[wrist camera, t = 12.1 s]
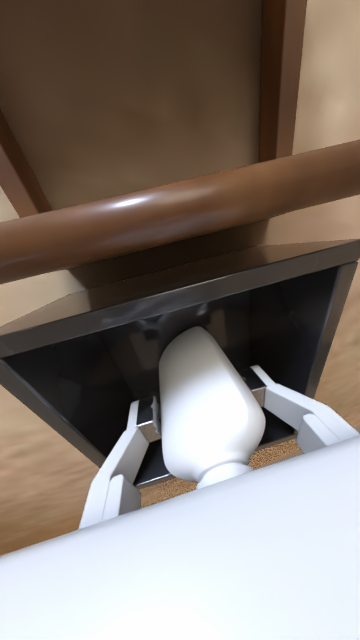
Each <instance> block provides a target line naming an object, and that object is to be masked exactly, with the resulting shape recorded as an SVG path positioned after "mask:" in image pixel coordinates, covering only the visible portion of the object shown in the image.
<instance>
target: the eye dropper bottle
mask: <svg viewBox="0 0 360 640" xmlns="http://www.w3.org/2000/svg"><path fill="white" fill-rule="evenodd" d="M159 386H160V412H161V434H162V451H163V458H164V463H165V466H166V468H167V469H168V471H169V472H170V473H171V474H172V475H174V476H175V477H177V478H179V479H183V480H187V481H193V482H198V485H197V487H196V490H197V489H200V488H203V487H206V486H209V485H212V484H215V483H218V482H221V481H224V480H227V479H230V478H233V477H236V476H239V475H242V474H245V473H248V472H250V471H253V470H254V469H253V468H252V467H250V466H248V464H249V459H250V458H251V456H252V455H253V453H254V451H255V450H256V448H257V446H258V444H259V443H260V441H261V439H262V436H263V433H264V430H265V422H266V421H265V416H264V413H263V411H262V409H261V407H260V405H259V404H258V402H257V401H256V399H255V398H254V396H253V395H252V393H251V392H250V390H249V389H248V387H247V386H246V384H245V383H244V381H243V380H242V378H241V377H240V375H239V374H238V372H237V371H236V370H235V368H234V367H233V365H232V364H231V362H230V361H229V359H228V358H227V357H226V355H225V354H224V352H223V351H222V349H221V348H220V346H219V345H218V344H217V342H216V341H215V339H214V338H213V337H212V335H211V334H209V333H208V332H207V331H206V330H205V329H203V328H202V327H199V326H196V327H192V328H190V329H188V330H186V331H184V332H183V333H181V334H180V335H178V336H177V337H176V338H175V339H174V340H173V341H172V342H171V343H170V344H169V345H168V346H167V347H166V349H165V350H164V352H163V354H162V356H161V358H160V361H159Z"/></svg>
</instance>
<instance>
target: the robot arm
mask: <svg viewBox="0 0 360 640" xmlns="http://www.w3.org/2000/svg"><path fill="white" fill-rule="evenodd" d="M237 372H238V374H239V375H240V377H241V378H242V380H243V381H244V383H245V384H246V386H247V387H248V389H249V390H250V392H251V393H252V395H253V396H254V398H255V399H256V401H257V402H258V404H259V405H260V407H264V408H266V409H267V410H269V411H270V412H272V413H273V414H275V415H276V416H277V417H279V418H280V419H282V420H283V421H285V422H286V423H288V424H289V425H290V426H292V427H293V428H295V429H296V430H298V434H297V437H296V443H297V444H298V446H299V447H300V448H301V450H302V451H303V452H304V454H301V455H298V456H295V457H292V458H289V459H286V460H283V461H280V462H277V463H274V464H271V465H268V466H265V467H262V468H259V469H256V470H253V471H250V472H248V473H245V474H242V475H239V476H236V477H233V478H230V479H227V480H224V481H221V482H218V483H215V484H212V485H209V486H206V487H203V488H200V489H197V490H194V491H191V492H188V493H185V494H182V495H179V496H176V497H173V498H170V499H167V500H164V501H161V502H158V503H155V504H152V505H149V506H146V507H143V508H140V506H141V493H140V491H139V490H138V489H137V488H136V487H135V486H134V485H133V482H134V480H135V477H136V475H137V472H138V470H139V467H140V465H141V462H142V460H143V457H144V455H145V453H146V450H147V448H148V445H149V443H150V442H152V441H155V440H158V439H161V438H162V434H161V423H160V421H161V412H160V405H159V403H157V399H156V397H155V396H153V397H149V398H145V399H142V400H138V401H135V402H132V403H131V406H130V412H129V418H128V424H127V430H126V431H124V432H123V434H122V435H121V437H120V439H119V440H118V442H117V443H116V445H115V446H114V448H113V450H112V451H111V453H110V454H109V456H108V457H107V459H106V461H105V462H104V464H103V465H102V467H101V468H100V470H99V472H98V473H97V475H96V476H95V478H94V479H93V481H92V483H91V486H90V490H89V493H88V497H87V500H86V504H85V508H84V511H83V515H82V518H81V522H80V525H79V529H78V530H75V531H72V532H69V533H66V534H63V535H60V536H57V537H54V538H51V539H48V540H45V541H42V542H39V543H36V544H33V545H30V546H28V547H25V548H22V549H19V550H16V551H13V552H10V553H7V554H4V555H1V556H0V640H360V434H359V433H358V432H357V431H356V430H355V429H354V428H353V427H352V426H350V425H349V424H348V423H347V422H346V421H345V420H344V419H342V418H341V417H340V416H339V415H338V414H337V413H336V412H334V411H333V410H332V409H331V408H330V407H329V406H327V405H324V404H322V403H320V402H318V401H315V400H313V399H311V398H309V397H307V396H304V395H302V394H300V393H298V392H296V391H293V390H291V389H289V388H287V387H285V386H282V385H280V384H275V383H274V381H273V380H272V379H271V378H270V377H269V376H268V375H267V374H266V373H265V372H264V371H263V370H262V369H261V368H260V367H259V366H258V365H255V366H252V367H248V368H245V369H241V370H238V371H237Z"/></svg>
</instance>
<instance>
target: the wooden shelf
mask: <svg viewBox="0 0 360 640" xmlns="http://www.w3.org/2000/svg"><path fill="white" fill-rule="evenodd" d="M306 6H307V0H263V10H262V54H261V98H260V143H259V163H256V164H252V165H248V166H243V167H239V168H235V169H230V170H226V171H222V172H217V173H213V174H209V175H205V176H200V177H196V178H192V179H187V180H183V181H179V182H174V183H170V184H166V185H161V186H157V187H153V188H148V189H144V190H140V191H135V192H131V193H127V194H122V195H118V196H114V197H109V198H105V199H101V200H96V201H92V202H88V203H83V204H79V205H75V206H70V207H66V208H62V209H57V210H53V211H52V210H51V208H50V206H49V204H48V202H47V200H46V198H45V196H44V194H43V192H42V191H41V189H40V187H39V185H38V183H37V181H36V179H35V177H34V175H33V173H32V171H31V169H30V167H29V165H28V163H27V161H26V159H25V158H24V156H23V154H22V152H21V150H20V148H19V146H18V144H17V142H16V140H15V138H14V136H13V134H12V132H11V130H10V128H9V126H8V125H7V123H6V121H5V119H4V117H3V115H2V113H1V111H0V186H1V187H2V189H3V191H4V192H5V194H6V196H7V197H8V199H9V200H10V202H11V204H12V205H13V207H14V209H15V210H16V212H17V214H18V215H19V217H20V218H19V219H14V220H10V221H6V222H1V223H0V284H4V283H8V282H12V281H16V280H20V279H24V278H28V277H32V276H36V275H40V274H44V273H48V272H54V271H60V270H65V269H70V268H74V267H78V266H82V265H86V264H90V263H94V262H98V261H102V260H106V259H110V258H114V257H118V256H122V255H126V254H129V253H133V252H137V251H141V250H145V249H149V248H153V247H157V246H161V245H165V244H169V243H173V242H177V241H181V240H185V239H189V238H193V237H197V236H201V235H205V234H209V233H213V232H217V231H221V230H225V229H229V228H233V227H237V226H241V225H245V224H249V223H253V222H257V221H261V220H265V219H269V218H272V217H276V216H279V215H282V214H285V213H289V212H292V211H295V210H299V209H303V208H307V207H311V206H315V205H319V204H323V203H327V202H331V201H335V200H339V199H343V198H347V197H351V196H355V195H359V194H360V140H356V141H352V142H347V143H343V144H339V145H334V146H330V147H326V148H321V149H317V150H313V151H308V152H304V153H300V154H295V155H292V150H293V139H294V129H295V119H296V108H297V98H298V88H299V78H300V67H301V57H302V47H303V36H304V26H305V16H306Z"/></svg>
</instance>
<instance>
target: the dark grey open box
mask: <svg viewBox="0 0 360 640" xmlns="http://www.w3.org/2000/svg"><path fill="white" fill-rule="evenodd" d="M359 258H360V239H349V240H335V241H322V242H308V243H294V244H280V245H266V246H253V247H250V248H246V249H242V250H238V251H234V252H230V253H226V254H223V255H219V256H215V257H211V258H207V259H203V260H199V261H196V262H192V263H188V264H184V265H180V266H176V267H172V268H169V269H165V270H161V271H157V272H153V273H149V274H145V275H142V276H138V277H134V278H130V279H126V280H122V281H118V282H115V283H111V284H107V285H103V286H99V287H95V288H91V289H88V290H84V291H80V292H76V293H72V294H68V295H66V296H65V297H62V298H60V299H58V300H56V301H54V302H52V303H50V304H47V305H45V306H43V307H41V308H39V309H37V310H35V311H33V312H31V313H28V314H26V315H24V316H22V317H20V318H18V319H16V320H14V321H12V322H9V323H7V324H5V325H3V326H1V327H0V384H1V385H2V386H3V387H4V388H5V389H7V390H8V391H9V392H10V393H11V394H13V395H14V396H15V397H16V398H17V399H19V400H20V401H21V402H22V403H23V404H24V405H26V406H27V407H28V408H29V409H30V410H32V411H33V412H34V413H35V414H36V415H38V416H39V417H40V418H41V419H42V420H43V421H45V422H46V423H47V424H48V425H49V426H51V427H52V428H53V429H54V430H55V431H57V432H58V433H59V434H60V435H61V436H63V437H64V438H65V439H66V440H67V441H68V442H70V443H71V444H72V445H73V446H74V447H76V448H77V449H78V450H79V451H80V452H82V453H83V454H84V455H85V456H86V457H87V458H89V459H90V460H91V461H92V462H93V463H95V464H96V465H97V466H98V467H99V468H101V467H102V465H103V464H104V462H105V461H106V459H107V457H108V456H109V454H110V453H111V451H112V450H113V448H114V446H115V445H116V443H117V442H118V440H119V439H120V437H121V435H122V434H123V432H124V431H126V430H127V424H128V418H129V412H130V406H131V403H132V402H135V401H138V400H142V399H145V398H149V397H153V396H155V397H156V399H157V403H159V405H160V386H159V361H160V358H161V356H162V354H163V352H164V350H165V349H166V347H167V346H168V345H169V344H170V343H171V342H172V341H173V340H174V339H175V338H176V337H177V336H178V335H180V334H181V333H183V332H184V331H186V330H188V329H190V328H192V327H196V326H199V327H202V328H203V329H205V330H206V331H207V332H208V333H209V334H211V335H212V337H213V338H214V339H215V341H216V342H217V344H218V345H219V346H220V348H221V349H222V351H223V352H224V354H225V355H226V357H227V358H228V359H229V361H230V362H231V364H232V365H233V367H234V368H235V370H236V371H238V370H241V369H245V368H248V367H252V366H255V365H258V366H259V367H260V368H261V369H262V370H263V371H264V372H265V373H266V374H267V375H268V376H269V377H270V378H271V379H272V380H273V381H274V383H275V384H280V385H282V386H285V387H287V388H289V389H291V390H293V391H296V392H298V393H300V394H302V395H304V396H307V397H309V398H311V399H314V396H315V393H316V389H317V386H318V383H319V380H320V377H321V374H322V371H323V368H324V365H325V362H326V359H327V356H328V353H329V350H330V347H331V344H332V341H333V338H334V335H335V332H336V329H337V326H338V323H339V320H340V316H341V313H342V310H343V307H344V304H345V301H346V298H347V295H348V292H349V289H350V286H351V283H352V280H353V277H354V274H355V271H356V268H357V265H358V262H356V261H357V260H359ZM261 409H262V411H263V413H264V416H265V421H266V422H265V430H264V433H263V436H262V439H261V441H260V443H259V444H258V446H257V448H256V450H255V451H258V450H261V449H264V448H267V447H270V446H273V445H276V444H279V443H282V442H285V441H288V440H291V439H294V438H296V437H297V434H298V430H296V429H295V428H293V427H292V426H290V425H289V424H288V423H286V422H285V421H283V420H282V419H280V418H279V417H277V416H276V415H275V414H273V413H272V412H270V411H269V410H267V409H266V408H264V407H261ZM160 423H161V421H160ZM255 451H254V452H255ZM173 478H176V477H175V476H174V475H172V474H171V473H170V472H169V471H168V469H167V468H166V466H165V463H164V458H163V451H162V438H161V439H158V440H155V441H152V442H150V443H149V445H148V448H147V450H146V453H145V455H144V457H143V460H142V462H141V465H140V467H139V470H138V472H137V475H136V477H135V480H134V482H133V485H134V486H135V487H136V488H137V489H138V490H140V489H143V488H146V487H149V486H152V485H155V484H158V483H161V482H164V481H167V480H170V479H173Z"/></svg>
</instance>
